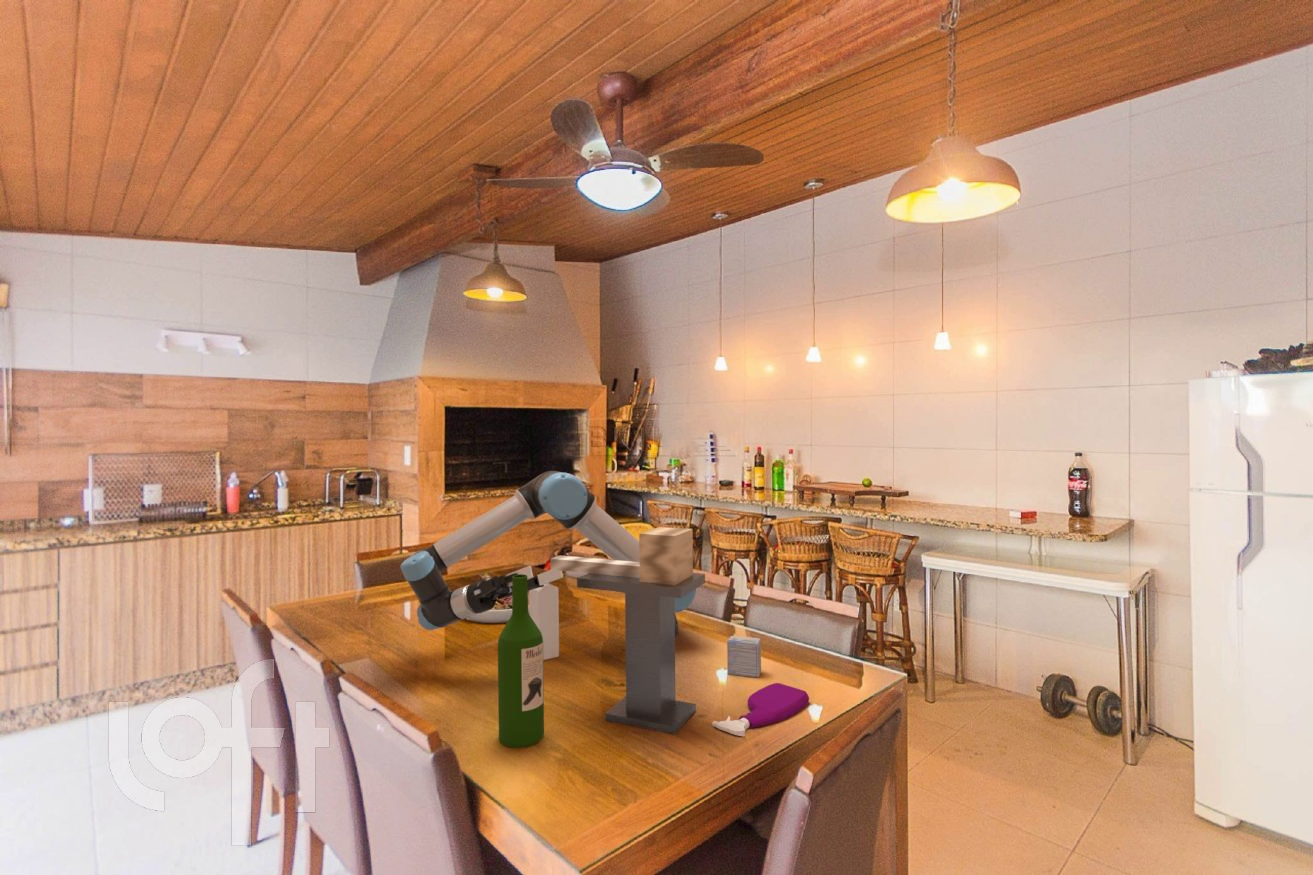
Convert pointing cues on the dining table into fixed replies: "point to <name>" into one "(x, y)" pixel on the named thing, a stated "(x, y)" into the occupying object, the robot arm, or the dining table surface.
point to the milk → (546, 617)
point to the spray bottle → (767, 708)
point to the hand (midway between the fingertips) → (547, 571)
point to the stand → (648, 651)
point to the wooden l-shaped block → (643, 559)
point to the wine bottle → (520, 674)
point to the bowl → (497, 612)
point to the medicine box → (744, 656)
